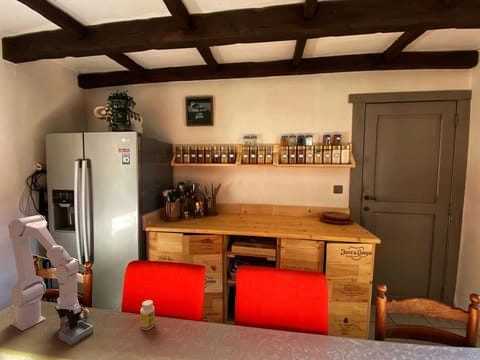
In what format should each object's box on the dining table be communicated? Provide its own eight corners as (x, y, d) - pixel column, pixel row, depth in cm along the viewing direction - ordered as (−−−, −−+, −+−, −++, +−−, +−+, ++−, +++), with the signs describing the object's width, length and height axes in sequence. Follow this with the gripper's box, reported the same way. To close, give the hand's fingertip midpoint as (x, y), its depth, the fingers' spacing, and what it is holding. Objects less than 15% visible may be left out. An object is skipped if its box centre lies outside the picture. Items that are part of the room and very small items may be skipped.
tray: (58, 338, 87) (58, 332, 87) (80, 325, 95) (80, 319, 94) (71, 345, 84) (71, 338, 84) (93, 332, 91) (93, 325, 91)
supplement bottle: (149, 331, 92) (149, 307, 92) (137, 329, 93) (137, 305, 93) (156, 322, 97) (157, 299, 97) (145, 320, 98) (145, 298, 98)
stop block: (60, 329, 92) (60, 318, 92) (71, 323, 96) (71, 313, 96) (65, 333, 90) (65, 321, 90) (76, 327, 94) (76, 316, 94)
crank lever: (70, 315, 101) (70, 303, 100) (81, 311, 104) (81, 299, 104) (82, 326, 94) (82, 313, 94) (93, 321, 97) (93, 308, 97)
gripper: (48, 290, 93) (48, 324, 93) (65, 301, 85) (66, 337, 86) (68, 283, 99) (68, 315, 99) (86, 292, 92) (86, 326, 92)
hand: (68, 324), depth 93 cm, fingers open, 6 cm apart
